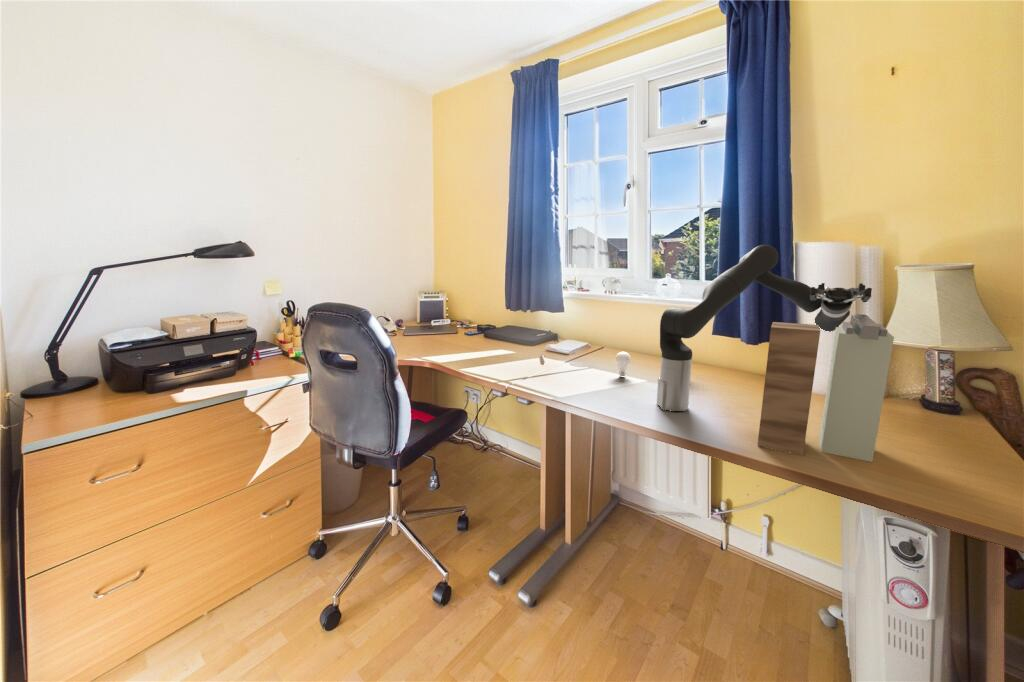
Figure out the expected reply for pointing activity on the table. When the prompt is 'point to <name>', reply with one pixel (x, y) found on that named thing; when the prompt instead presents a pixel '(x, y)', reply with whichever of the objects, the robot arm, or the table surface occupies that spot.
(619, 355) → the lightbulb
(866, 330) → the axle bar
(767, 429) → the walnut stand
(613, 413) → the table surface
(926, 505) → the table surface
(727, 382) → the table surface
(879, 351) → the cradle stand
